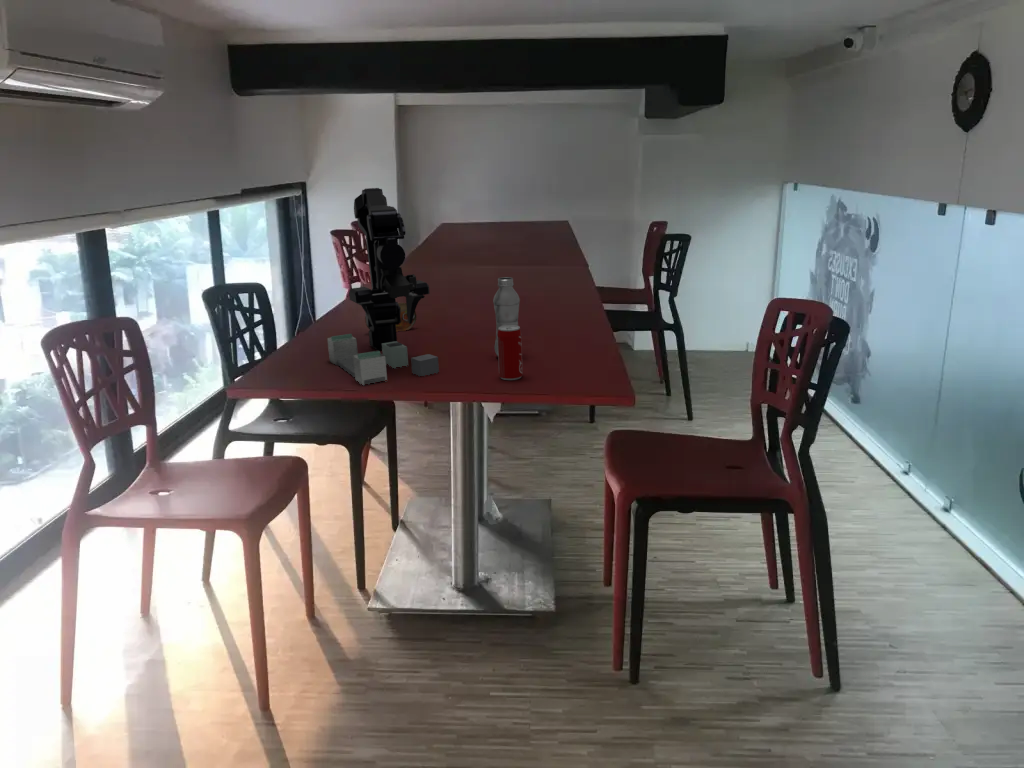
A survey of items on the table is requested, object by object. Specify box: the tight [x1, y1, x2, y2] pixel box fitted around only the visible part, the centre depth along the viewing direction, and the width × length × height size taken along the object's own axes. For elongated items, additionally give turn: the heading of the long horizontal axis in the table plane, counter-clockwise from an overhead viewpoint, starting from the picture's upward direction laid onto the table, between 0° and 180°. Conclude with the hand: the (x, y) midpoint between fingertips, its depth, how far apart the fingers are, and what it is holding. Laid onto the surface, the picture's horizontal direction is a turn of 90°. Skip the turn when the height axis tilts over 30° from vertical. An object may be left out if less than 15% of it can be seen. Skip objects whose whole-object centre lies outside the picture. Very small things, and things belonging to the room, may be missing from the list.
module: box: [381, 340, 409, 369], centre depth 194 cm, size 4×7×5 cm, turn 29°
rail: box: [327, 333, 388, 386], centre depth 189 cm, size 6×26×7 cm, turn 29°
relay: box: [410, 353, 440, 377], centre depth 185 cm, size 5×4×4 cm
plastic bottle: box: [492, 276, 521, 357], centre depth 194 cm, size 6×7×20 cm
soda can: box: [497, 325, 524, 381], centre depth 178 cm, size 6×6×12 cm
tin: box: [364, 302, 417, 333], centre depth 228 cm, size 15×3×8 cm, turn 114°
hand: (392, 326), depth 192 cm, fingers open, 9 cm apart
